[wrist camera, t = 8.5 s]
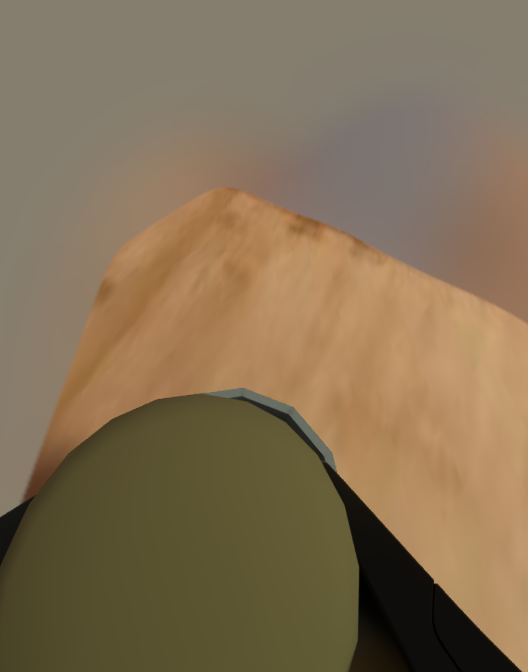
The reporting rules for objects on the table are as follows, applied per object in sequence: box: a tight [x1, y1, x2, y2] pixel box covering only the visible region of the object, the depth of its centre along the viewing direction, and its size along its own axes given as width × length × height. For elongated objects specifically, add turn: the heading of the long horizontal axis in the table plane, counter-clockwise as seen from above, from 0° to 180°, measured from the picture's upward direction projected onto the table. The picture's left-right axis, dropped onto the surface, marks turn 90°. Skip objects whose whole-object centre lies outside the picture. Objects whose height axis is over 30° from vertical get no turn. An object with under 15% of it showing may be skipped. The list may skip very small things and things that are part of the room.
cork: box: [0, 394, 359, 672], centre depth 8 cm, size 6×6×11 cm
